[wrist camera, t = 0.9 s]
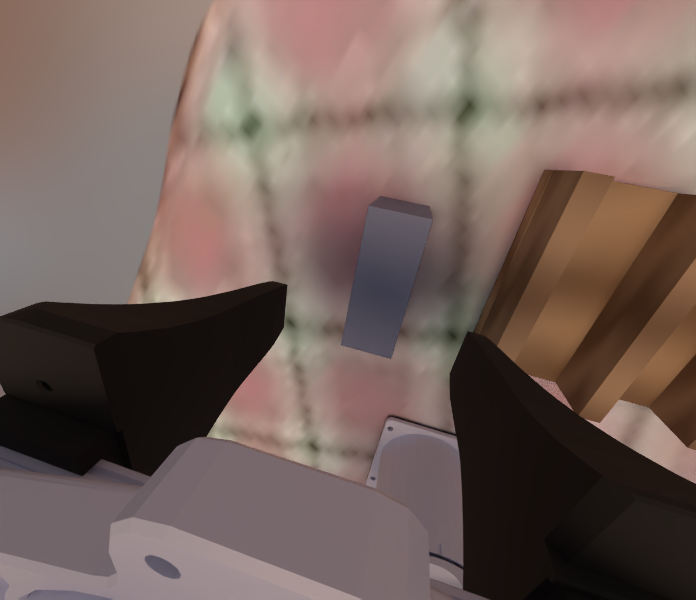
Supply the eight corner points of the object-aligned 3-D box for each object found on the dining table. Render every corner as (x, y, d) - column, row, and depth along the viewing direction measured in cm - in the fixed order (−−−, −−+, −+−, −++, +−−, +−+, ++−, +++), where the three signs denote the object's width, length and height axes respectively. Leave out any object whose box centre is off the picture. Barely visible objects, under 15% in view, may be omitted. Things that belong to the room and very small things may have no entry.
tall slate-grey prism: (396, 318, 21) (390, 358, 17) (357, 308, 22) (341, 345, 17) (429, 206, 18) (433, 219, 13) (381, 196, 18) (368, 205, 14)
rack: (755, 427, 19) (834, 488, 15) (465, 350, 21) (475, 388, 17) (963, 248, 13) (1162, 277, 10) (544, 170, 16) (582, 170, 12)
